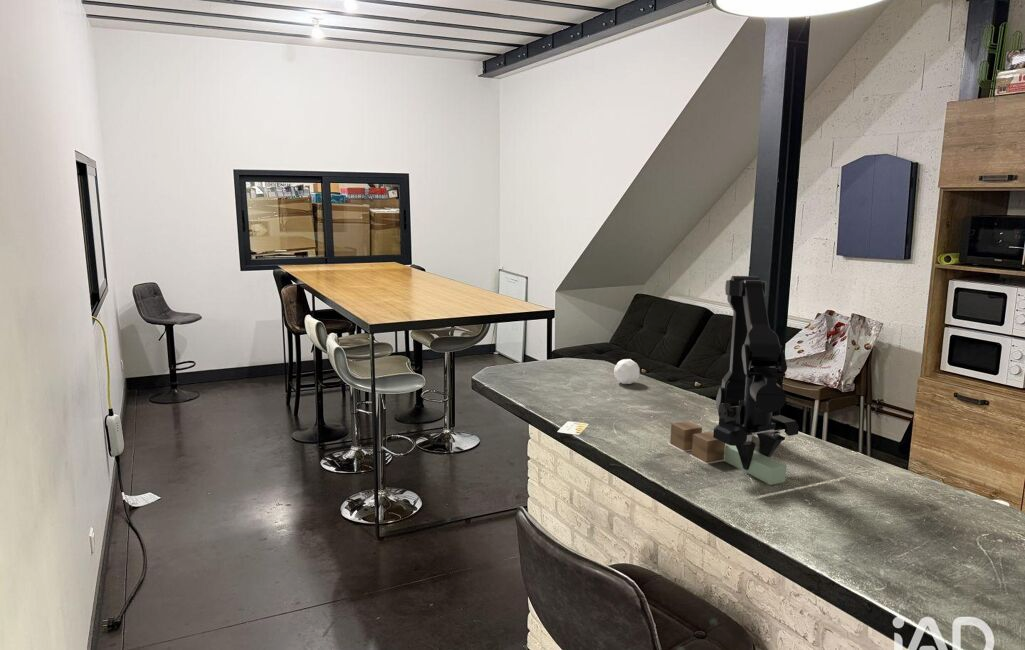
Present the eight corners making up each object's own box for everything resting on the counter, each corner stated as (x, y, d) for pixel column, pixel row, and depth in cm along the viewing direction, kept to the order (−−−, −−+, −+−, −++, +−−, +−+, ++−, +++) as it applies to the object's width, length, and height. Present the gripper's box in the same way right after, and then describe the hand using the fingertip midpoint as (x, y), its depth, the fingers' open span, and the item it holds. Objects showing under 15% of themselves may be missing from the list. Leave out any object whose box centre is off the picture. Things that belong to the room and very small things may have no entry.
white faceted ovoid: (614, 376, 213) (601, 371, 225) (634, 391, 215) (621, 385, 226) (628, 355, 213) (615, 351, 225) (648, 370, 215) (634, 365, 227)
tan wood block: (709, 452, 160) (710, 431, 159) (724, 459, 155) (725, 438, 154) (691, 455, 158) (692, 434, 157) (706, 462, 153) (707, 441, 152)
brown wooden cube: (687, 440, 167) (688, 420, 166) (700, 447, 162) (702, 427, 161) (670, 443, 165) (671, 423, 164) (683, 450, 160) (684, 430, 159)
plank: (738, 460, 156) (739, 443, 155) (784, 484, 144) (786, 465, 143) (724, 462, 155) (725, 445, 154) (769, 487, 142) (771, 468, 141)
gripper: (764, 383, 157) (759, 449, 160) (698, 392, 150) (694, 461, 152) (803, 396, 147) (797, 466, 150) (734, 407, 140) (729, 480, 142)
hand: (753, 467), depth 149 cm, fingers closed on plank, 4 cm apart
